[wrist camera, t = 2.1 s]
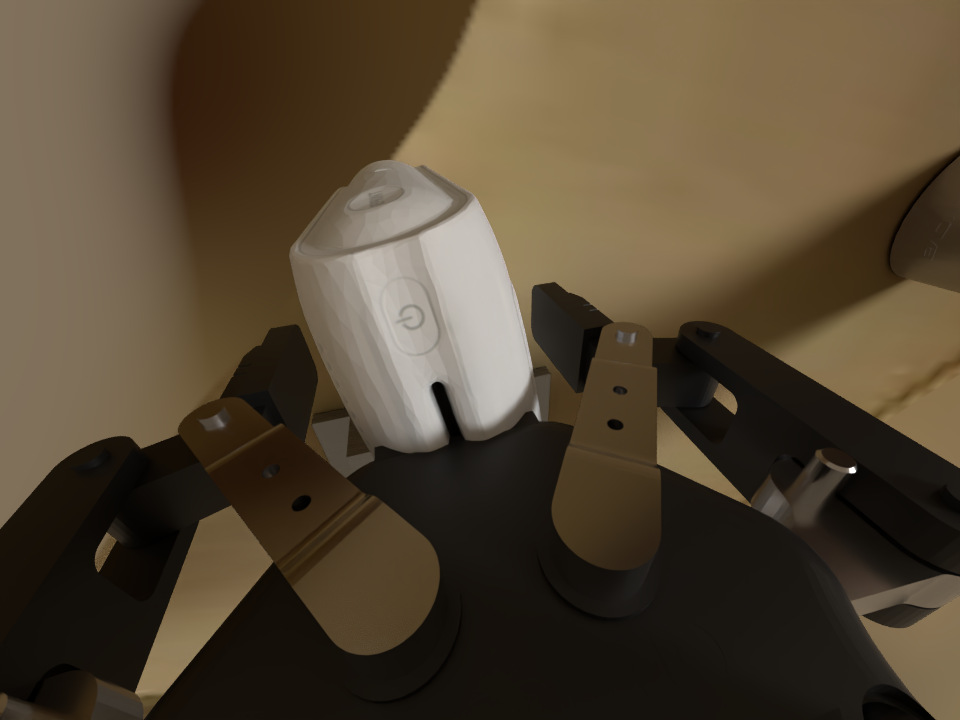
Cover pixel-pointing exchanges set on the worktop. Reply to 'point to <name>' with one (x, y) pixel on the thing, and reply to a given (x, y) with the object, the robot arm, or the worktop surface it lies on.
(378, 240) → the photo printer
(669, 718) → the robot arm
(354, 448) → the bracket
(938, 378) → the worktop surface
